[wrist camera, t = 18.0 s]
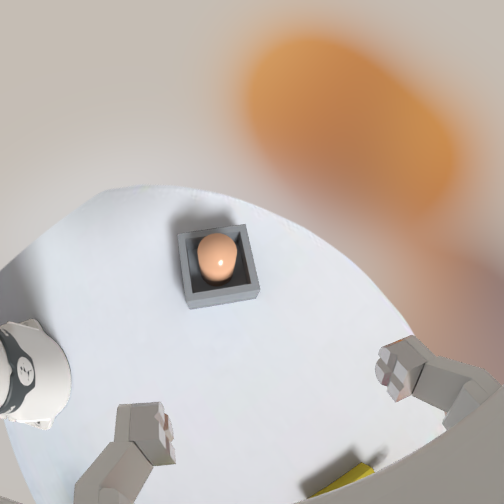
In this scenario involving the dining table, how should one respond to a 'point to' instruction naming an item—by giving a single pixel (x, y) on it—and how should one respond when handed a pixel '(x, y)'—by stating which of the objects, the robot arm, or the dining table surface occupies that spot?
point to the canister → (217, 259)
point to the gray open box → (242, 280)
